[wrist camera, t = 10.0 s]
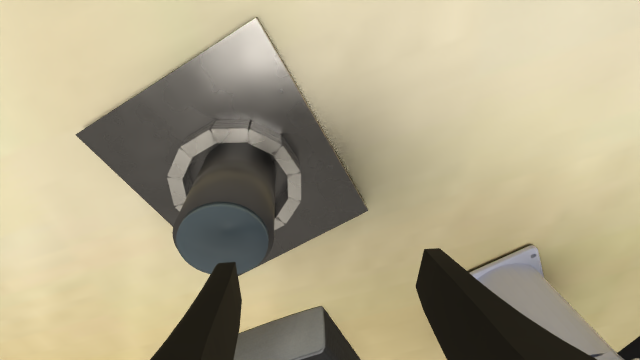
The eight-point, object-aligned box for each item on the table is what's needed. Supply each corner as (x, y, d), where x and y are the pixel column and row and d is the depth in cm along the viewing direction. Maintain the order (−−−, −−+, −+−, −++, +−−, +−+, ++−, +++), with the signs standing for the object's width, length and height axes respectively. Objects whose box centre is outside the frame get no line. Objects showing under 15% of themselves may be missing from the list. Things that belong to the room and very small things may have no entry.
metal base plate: (365, 202, 23) (373, 223, 21) (231, 270, 25) (227, 295, 23) (257, 16, 16) (253, 18, 14) (85, 128, 18) (58, 145, 16)
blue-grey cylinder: (276, 143, 19) (275, 203, 13) (274, 204, 21) (272, 279, 15) (199, 139, 18) (163, 200, 12) (205, 203, 20) (176, 280, 15)
